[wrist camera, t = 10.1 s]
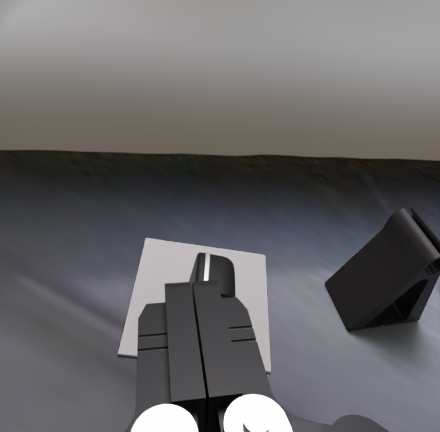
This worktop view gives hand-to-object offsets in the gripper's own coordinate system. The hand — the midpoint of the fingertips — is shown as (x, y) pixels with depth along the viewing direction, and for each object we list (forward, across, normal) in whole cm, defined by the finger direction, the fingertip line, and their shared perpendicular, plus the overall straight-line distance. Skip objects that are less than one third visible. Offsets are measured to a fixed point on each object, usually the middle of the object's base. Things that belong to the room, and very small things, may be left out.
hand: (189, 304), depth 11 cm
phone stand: (+21, -22, +23) cm, 38 cm away
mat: (+22, -3, +21) cm, 30 cm away
